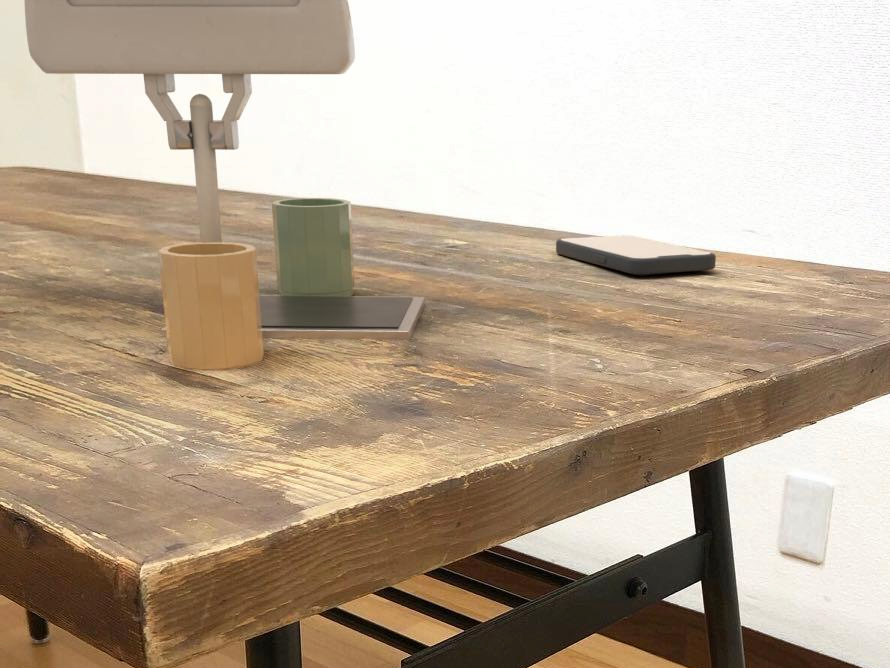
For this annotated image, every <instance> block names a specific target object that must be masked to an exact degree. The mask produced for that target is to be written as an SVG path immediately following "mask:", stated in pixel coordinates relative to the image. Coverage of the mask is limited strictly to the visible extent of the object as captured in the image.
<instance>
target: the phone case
mask: <svg viewBox="0 0 890 668" xmlns="http://www.w3.org/2000/svg"><path fill="white" fill-rule="evenodd" d="M555 253H556V254H557V255H560V256H564V257H568V258H571V259H575V260H578V261H583V262H586V263H589V264H594V265H597V266H601V267H605V268H607V269H612V270H616V271H620V272H622V273H627V274H630V275H634V276H637V277H645V276H651V275H653V276H654V275H664V274H671V273H684V272H698V271H711V270H714V269H715V268H716V261H717V256H716V254H715V253H713V252H709V251H705V250H700V249H696V248H692V247H687V246H681V245H678V244H673V243H669V242H668V243H667V242H664V241H659V240H654V239H650V238H645V237H640V236H635V235H626V234H625V235H605V236H603V235H602V236H587V237H586V236H585V237H567V238H559V239H557V240H556V242H555Z"/></svg>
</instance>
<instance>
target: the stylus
mask: <svg viewBox="0 0 890 668" xmlns="http://www.w3.org/2000/svg"><path fill="white" fill-rule="evenodd" d="M189 112H190V120H191V125H192V138H193V149H192V151H193V163H194V175H195V190H196V202H197V204H196V205H197V215H198V228H199V229H198V230H199V240H200V242H223V238H222V225H221V223H222V222H221V213H220V212H221V210H220V197H219V184H218V168H217V167H218V166H217V155H216V149H212V147H211V141H210V139H211V138H212V135H211V133H210V130H209V121H214V113H213V102H212V101H211V99H210V97H208V96H207V95H206V94H204V93H197V94H194V95H193V96H192V97H191V99H190V101H189Z"/></svg>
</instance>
